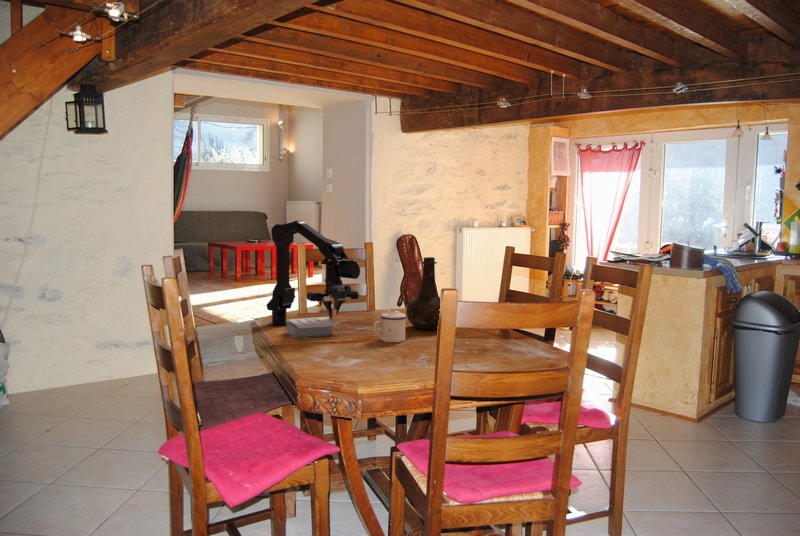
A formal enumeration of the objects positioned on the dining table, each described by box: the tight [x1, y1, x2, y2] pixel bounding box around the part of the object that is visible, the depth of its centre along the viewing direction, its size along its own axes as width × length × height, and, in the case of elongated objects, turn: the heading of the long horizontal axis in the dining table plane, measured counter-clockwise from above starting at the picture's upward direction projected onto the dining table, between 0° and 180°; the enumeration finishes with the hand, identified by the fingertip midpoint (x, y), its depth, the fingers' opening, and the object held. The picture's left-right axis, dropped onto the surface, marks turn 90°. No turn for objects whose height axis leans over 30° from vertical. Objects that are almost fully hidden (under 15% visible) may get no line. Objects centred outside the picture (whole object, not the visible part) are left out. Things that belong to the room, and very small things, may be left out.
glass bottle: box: [405, 256, 441, 331], centre depth 249 cm, size 18×18×28 cm
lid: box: [287, 307, 341, 328], centre depth 235 cm, size 12×16×5 cm
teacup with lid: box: [373, 307, 407, 343], centre depth 227 cm, size 12×9×12 cm
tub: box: [286, 322, 333, 339], centre depth 234 cm, size 10×14×4 cm
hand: (332, 318), depth 238 cm, fingers closed on lid
